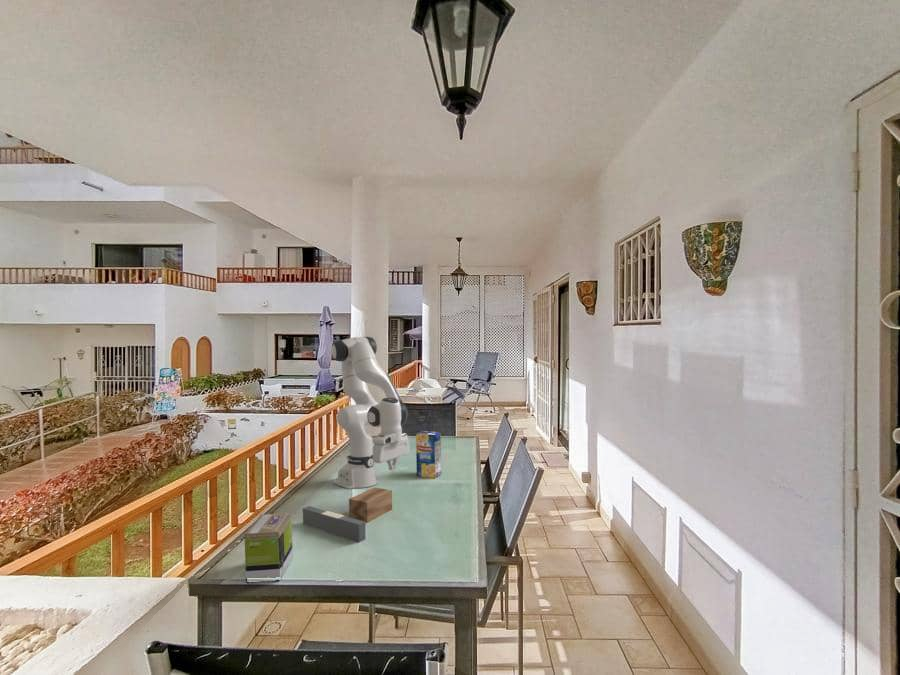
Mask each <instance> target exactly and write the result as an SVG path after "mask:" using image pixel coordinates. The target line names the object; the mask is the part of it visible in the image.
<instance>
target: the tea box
mask: <svg viewBox="0 0 900 675" xmlns="http://www.w3.org/2000/svg"><path fill="white" fill-rule="evenodd" d="M292 521H293V520H292V512H283V513H272V514H271V513H270V514H260V515H259V517H257V519H256V520H255V521H254V523H252V525H251V526H250V527H249V529H248V530H247V531H246V532H245V533H244V559H245V560H244V562H245V564H244V566H245V579H246V578H268V577H269V578H276V577H281V576H282V574H283V573H284V574H285V572H286V571H285V569H286V568H287V569H288V567H287V566H289V565H290V563H291V562H290V561H292V559H293V558H294V550H293V546H294V545H293V529H292V528H293V524H292ZM288 564H289V565H288ZM287 569H286V570H287ZM284 571H285V572H284ZM284 574H283V575H284ZM282 577H283V576H282Z"/></svg>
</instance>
